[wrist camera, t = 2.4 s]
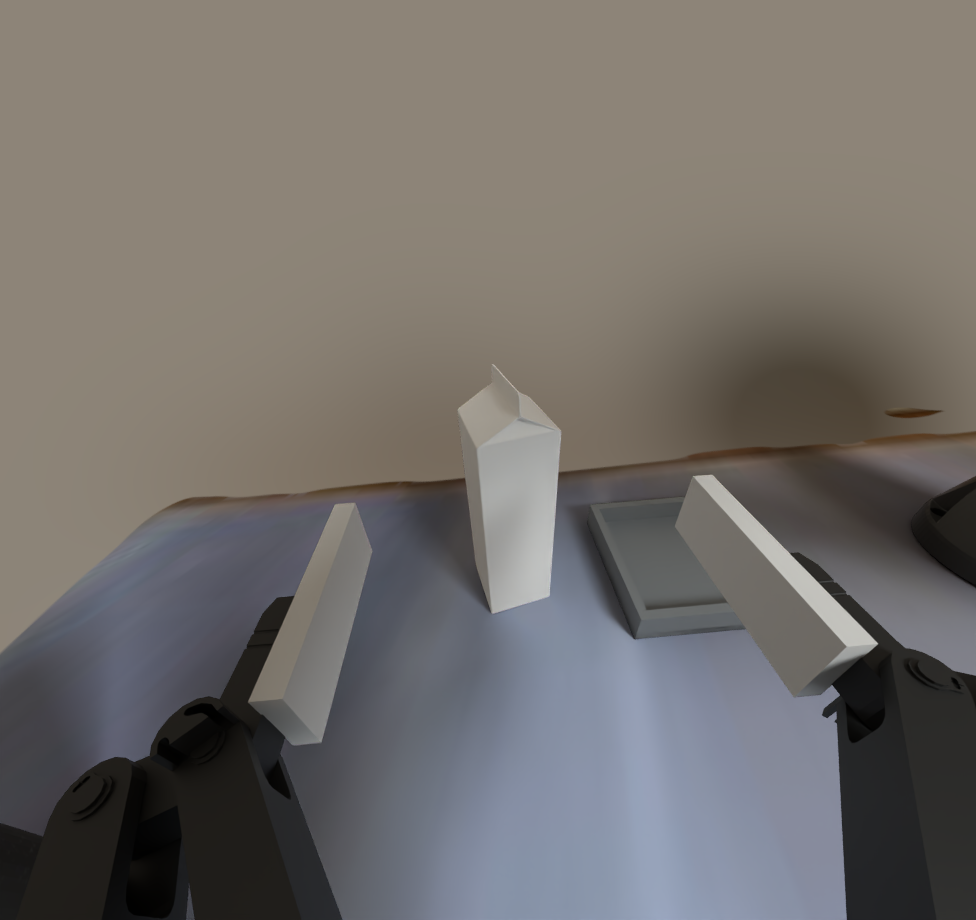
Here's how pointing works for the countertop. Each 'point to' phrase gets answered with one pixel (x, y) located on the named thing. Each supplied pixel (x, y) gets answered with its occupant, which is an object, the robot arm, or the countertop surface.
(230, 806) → the robot arm
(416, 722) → the countertop surface
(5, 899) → the travel mug
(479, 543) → the milk
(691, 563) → the tray
